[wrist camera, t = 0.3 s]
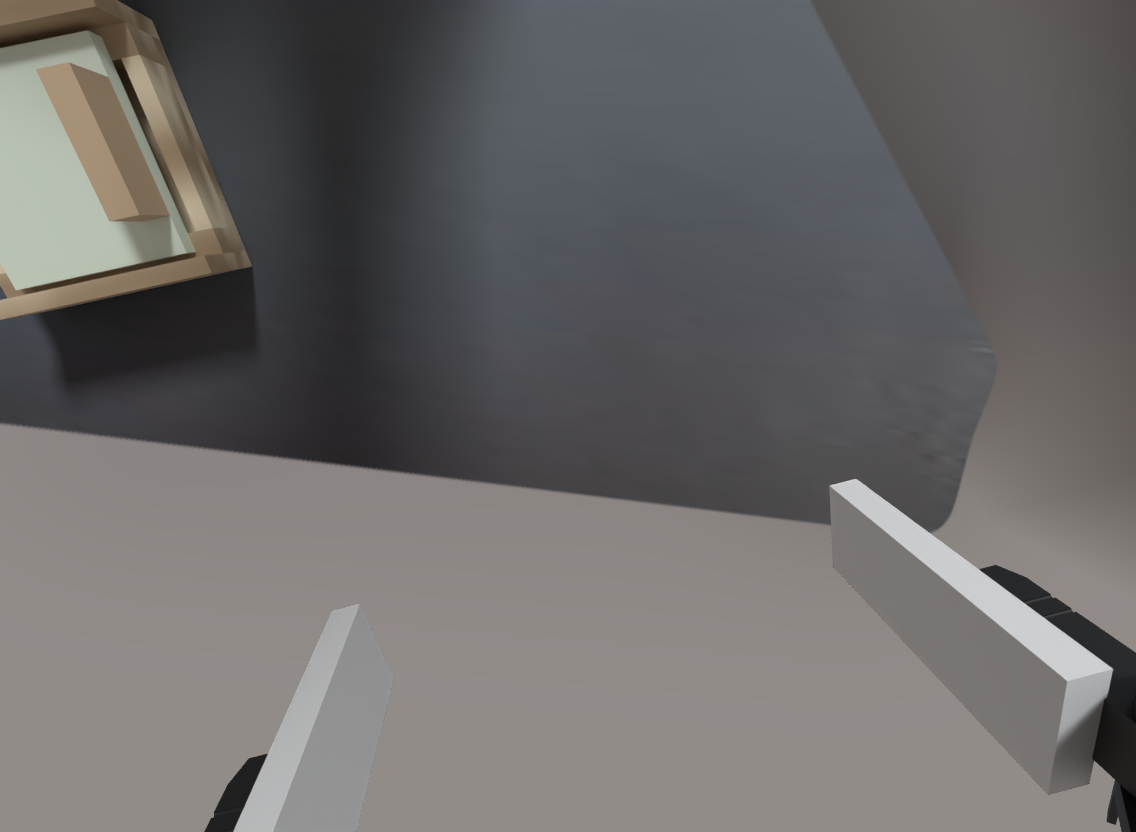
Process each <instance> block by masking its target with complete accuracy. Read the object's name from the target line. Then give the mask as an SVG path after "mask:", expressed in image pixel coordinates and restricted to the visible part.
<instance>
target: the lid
mask: <svg viewBox="0 0 1136 832" xmlns="http://www.w3.org/2000/svg"><path fill="white" fill-rule="evenodd" d="M194 252H196V251H195V249H194V247H193V244H192V242H191V240H190V237H189V235H188V233H187V231H186V228H185V226H184V224H183V221H182V219H181V217H180V215H179V212H178V210H177V208H176V206H175V203H174V201H173V199H172V196H171V194H170V192H169V190H168V187H167V185H166V183H165V180H164V178H163V176H162V174H161V171H160V169H159V167H158V165H157V162H156V160H155V158H154V155H153V153H152V151H151V149H150V146H149V144H148V142H147V139H146V137H145V135H144V133H143V130H142V128H141V126H140V123H139V121H138V119H137V117H136V114H135V112H134V110H133V108H132V105H131V103H130V101H129V98H128V96H127V94H126V92H125V89H124V87H123V85H122V82H121V80H120V78H119V76H118V73H117V71H116V69H115V66H114V64H113V62H112V60H111V57H110V55H109V53H108V51H107V48H106V46H105V44H104V41H103V39H102V37H101V36H99V35H97V34H94V33H92V32H90V31H88V30H87V31H82V32H77V33H72V34H68V35H63V36H58V37H53V38H48V39H43V40H38V41H34V42H29V43H24V44H19V45H14V46H9V47H4V48H0V263H1V265H2V267H3V269H4V270H5V272H6V274H7V276H8V277H9V279H10V281H11V283H12V284H13V286H14V288H15V290H22V289H30V288H35V287H39V286H44V285H48V284H53V283H57V282H62V281H66V280H71V279H76V278H80V277H85V276H89V275H94V274H98V273H103V272H107V271H112V270H117V269H121V268H126V267H130V266H135V265H139V264H144V263H149V262H153V261H158V260H162V259H167V258H171V257H176V256H180V255H185V254H190V253H194Z"/></svg>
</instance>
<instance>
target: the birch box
mask: <svg viewBox="0 0 1136 832" xmlns="http://www.w3.org/2000/svg"><path fill="white" fill-rule="evenodd" d="M87 30H88V31H90V32H92V33H94V34H97V35H99V36H101V37H102V39H103V41H104V44H105V46H106V48H107V51H108V53H109V55H110V57H111V60H112V62H113V64H114V66H115V69H116V71H117V73H118V76H119V78H120V80H121V82H122V85H123V87H124V89H125V92H126V94H127V96H128V98H129V101H130V103H131V105H132V108H133V110H134V112H135V114H136V117H137V119H138V121H139V123H140V126H141V128H142V130H143V133H144V135H145V137H146V139H147V142H148V144H149V146H150V149H151V151H152V153H153V155H154V158H155V160H156V162H157V165H158V167H159V169H160V171H161V174H162V176H163V178H164V180H165V183H166V185H167V187H168V190H169V192H170V194H171V196H172V199H173V201H174V203H175V206H176V208H177V210H178V212H179V215H180V217H181V219H182V221H183V224H184V226H185V228H186V231H187V233H188V235H189V237H190V240H191V242H192V244H193V247H194V249H195V251H196V252H194V253H190V254H185V255H180V256H176V257H171V258H167V259H162V260H158V261H153V262H149V263H144V264H139V265H135V266H130V267H126V268H121V269H117V270H112V271H107V272H103V273H98V274H94V275H89V276H85V277H80V278H76V279H71V280H66V281H62V282H57V283H53V284H48V285H44V286H39V287H35V288H30V289H22V290H15V288H14V286H13V284H12V283H11V281H10V279H9V277H8V276H7V274H6V272H5V270H4V269H3V267H2V265H1V263H0V286H1V288H2V289H3V291H4V293H5V294H6V296H7V298H8V299H3V300H0V320H4V319H9V318H15V317H20V316H25V315H31V314H36V313H41V312H46V311H52V310H57V309H62V308H66V307H71V306H75V305H80V304H84V303H89V302H93V301H98V300H102V299H107V298H111V297H116V296H120V295H125V294H130V293H134V292H139V291H143V290H148V289H152V288H157V287H161V286H166V285H170V284H175V283H179V282H184V281H188V280H193V279H197V278H202V277H207V276H211V275H216V274H220V273H225V272H229V271H234V270H238V269H243V268H247V267H252V265H251V262H250V260H249V257H248V255H247V253H246V250H245V248H244V245H243V243H242V240H241V238H240V235H239V233H238V230H237V228H236V225H235V223H234V221H233V218H232V216H231V213H230V211H229V208H228V206H227V203H226V201H225V198H224V196H223V193H222V191H221V188H220V186H219V184H218V181H217V179H216V176H215V174H214V171H213V169H212V166H211V164H210V161H209V159H208V156H207V154H206V152H205V149H204V147H203V144H202V142H201V139H200V137H199V134H198V132H197V129H196V127H195V124H194V122H193V120H192V117H191V115H190V112H189V110H188V107H187V105H186V102H185V100H184V97H183V95H182V92H181V90H180V88H179V85H178V83H177V80H176V78H175V75H174V73H173V70H172V68H171V65H170V63H169V60H168V58H167V56H166V53H165V51H164V48H163V46H162V43H161V41H160V38H159V36H158V33H157V31H156V28H155V26H154V24H153V21H152V20H151V19H149V18H147V17H146V16H144V15H142V14H140V13H139V12H137V11H135V10H133V9H132V8H130V7H128V6H126V5H125V4H123V3H121V2H120V1H118V0H0V48H4V47H9V46H14V45H19V44H24V43H29V42H34V41H38V40H43V39H48V38H53V37H58V36H63V35H68V34H72V33H77V32H82V31H87Z"/></svg>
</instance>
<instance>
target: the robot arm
mask: <svg viewBox="0 0 1136 832" xmlns="http://www.w3.org/2000/svg"><path fill="white" fill-rule="evenodd" d="M830 510H831V533H832V557H833V567H834V568H835V569H836V570H837V571H838V573H839V574H840V575H841V576H842V577H843V578H844V579H845V580H846V581H847V582H848V583H849V584H850V585H851V586H852V588H854V590H855V591H856V592H857V593H858V594H859V595H860V596H861V597H862V598H863V599H864V600H865V601H866V602H867V603H868V604H869V606H870V607H871V608H872V609H873V610H874V611H875V612H876V613H877V614H878V615H879V616H880V617H881V618H882V619H883V620H884V622H885V623H886V624H887V625H888V626H889V627H890V628H891V629H892V630H893V631H894V632H895V633H896V634H897V635H898V636H899V637H900V639H902V640H903V642H904V643H905V644H906V645H907V646H908V647H909V648H910V649H911V650H912V651H913V652H914V653H915V654H916V655H917V657H919V659H920V660H921V661H922V662H923V663H924V664H925V665H926V666H927V667H928V668H929V669H930V670H931V671H932V672H933V673H934V674H935V676H936V677H937V678H938V679H939V680H940V681H941V682H942V683H943V684H944V685H945V686H946V687H947V688H948V689H949V691H951V693H952V694H953V695H954V696H955V697H956V698H957V699H958V700H959V701H960V702H961V703H962V704H963V705H964V706H965V708H967V710H969V712H970V713H971V714H972V715H973V716H974V717H975V718H976V719H977V720H978V721H979V722H980V723H981V724H982V726H983V727H984V728H985V729H986V730H987V731H988V732H989V733H990V734H991V735H992V736H993V737H994V738H995V739H996V740H997V741H998V743H999V744H1001V746H1002V747H1003V748H1004V749H1005V750H1006V751H1007V752H1008V753H1009V754H1010V755H1011V756H1012V757H1013V758H1014V760H1015V761H1016V762H1018V764H1019V765H1020V766H1021V767H1022V768H1023V769H1024V770H1025V771H1026V772H1027V773H1028V774H1029V775H1030V776H1031V778H1032V779H1033V780H1034V781H1035V782H1036V783H1037V784H1038V785H1039V786H1040V787H1041V788H1042V789H1043V790H1044V791H1045V792H1046V793H1047V794H1048V795H1050V794H1054V793H1058V792H1061V791H1065V790H1068V789H1072V788H1076V787H1079V786H1083V785H1087V784H1089V781H1090V777H1091V772H1092V768H1093V763H1094V761H1095V762H1097V763H1098V764H1099V765H1100V766H1101V767H1102V768H1103V769H1104V770H1105V771H1106V772H1107V773H1109V774H1110V775H1111V776H1112V777H1113V778H1114V779H1115V782H1114V786H1113V790H1112V795H1111V799H1110V803H1109V808H1108V815H1107V822H1109V823H1112V824H1115V825H1116V821H1117V818H1118V817H1119V821H1120V826H1121V830H1122V832H1136V653H1135V652H1134V651H1132V650H1131V649H1130V648H1128V647H1127V646H1125V645H1124V644H1122V643H1121V642H1119V641H1118V640H1116V639H1115V638H1114V637H1112V636H1111V635H1109V634H1108V633H1106V632H1105V631H1103V630H1102V629H1100V628H1099V627H1098V626H1096V625H1095V624H1093V623H1092V622H1090V621H1089V620H1087V619H1086V618H1084V617H1083V616H1082V615H1080V614H1078V613H1077V612H1073V611H1072V610H1071V608H1070V607H1068V606H1067V605H1065V604H1064V603H1062V602H1061V601H1060V600H1058V599H1057V598H1052V597H1051V594H1050V593H1048V592H1047V591H1045V590H1044V589H1042V588H1041V587H1039V586H1038V585H1036V584H1035V583H1034V582H1032V581H1031V580H1029V579H1028V578H1026V577H1024V576H1022V575H1019V574H1017V573H1014V572H1012V571H1009V570H1007V569H1004V568H1002V567H999V566H997V565H994V566H990V567H986V568H982V569H977V568H976V567H975V566H973V565H972V564H970V563H969V562H968V561H966V560H965V559H964V558H962V557H961V556H960V555H958V554H957V553H956V552H954V551H953V550H952V549H950V548H949V547H948V546H946V545H945V544H943V543H942V542H941V541H939V540H938V539H937V538H935V537H934V536H933V535H931V534H930V533H929V532H927V531H926V530H925V529H923V528H922V527H921V526H919V525H918V524H916V523H915V522H914V521H912V520H911V519H910V518H908V517H907V516H906V515H904V514H903V513H902V512H900V511H899V510H898V509H896V508H895V507H893V506H892V505H891V504H889V503H888V502H887V501H885V500H884V499H883V498H881V497H880V496H879V495H877V494H876V493H875V492H873V491H872V490H870V489H869V488H868V487H866V486H865V485H864V484H862V483H861V482H860V481H858V480H857V479H854V480H850V481H846V482H842V483H838V484H834V485H830ZM393 681H394V678H393V676H392V673H391V671H390V669H389V667H388V664H387V662H386V660H385V658H384V656H383V653H382V651H381V649H380V647H379V645H378V642H377V640H376V638H375V636H374V633H373V631H372V629H371V627H370V625H369V622H368V620H367V618H366V616H365V613H364V611H363V609H362V607H361V605H360V604H356V605H352V606H348V607H344V608H340V609H336V610H332V612H331V614H330V616H329V618H328V621H327V623H326V625H325V627H324V630H323V632H322V634H321V636H320V639H319V641H318V643H317V645H316V647H315V650H314V652H313V654H312V656H311V659H310V661H309V663H308V665H307V668H306V670H305V672H304V674H303V677H302V679H301V681H300V684H299V686H298V688H297V690H296V692H295V695H294V697H293V699H292V702H291V703H290V706H289V708H288V710H287V712H286V715H285V717H284V719H283V721H282V724H281V726H280V728H279V730H278V733H277V735H276V737H275V739H274V742H273V744H272V746H271V748H270V751H269V753H268V754H265V755H261V756H257V757H253V758H249V759H248V760H247V761H246V763H245V764H244V765H243V766H242V768H241V769H240V770H239V771H238V773H237V774H236V775H235V776H234V778H233V779H232V780H231V781H230V783H229V784H228V785H227V787H226V789H225V791H224V793H223V795H222V797H221V799H220V801H219V803H218V805H217V807H216V809H215V811H214V818H211V820H210V822H209V824H208V826H207V828H206V830H205V832H357V828H358V824H359V820H360V816H361V811H362V807H363V803H364V799H365V795H366V791H367V787H368V783H369V779H370V775H371V770H372V767H373V762H374V758H375V754H376V750H377V746H378V742H379V738H380V733H381V729H382V726H383V722H384V718H385V713H386V709H387V705H388V701H389V697H390V693H391V689H392V685H393Z"/></svg>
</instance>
